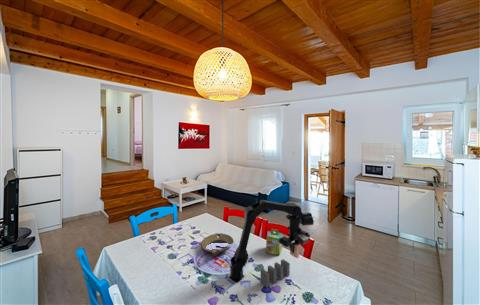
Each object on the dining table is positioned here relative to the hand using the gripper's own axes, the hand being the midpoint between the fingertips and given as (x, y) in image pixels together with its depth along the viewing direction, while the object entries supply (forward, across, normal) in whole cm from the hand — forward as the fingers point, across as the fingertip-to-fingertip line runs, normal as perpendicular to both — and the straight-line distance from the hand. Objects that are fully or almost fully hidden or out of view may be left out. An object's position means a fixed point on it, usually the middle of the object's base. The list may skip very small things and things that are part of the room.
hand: (294, 252), depth 118 cm
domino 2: (+11, -16, +1) cm, 19 cm away
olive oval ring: (+12, -27, +46) cm, 55 cm away
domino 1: (+12, -21, +1) cm, 24 cm away
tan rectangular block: (+2, 0, 0) cm, 2 cm away
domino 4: (+11, -6, +1) cm, 13 cm away
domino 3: (+11, -11, +1) cm, 16 cm away
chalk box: (+12, +5, +22) cm, 25 cm away
